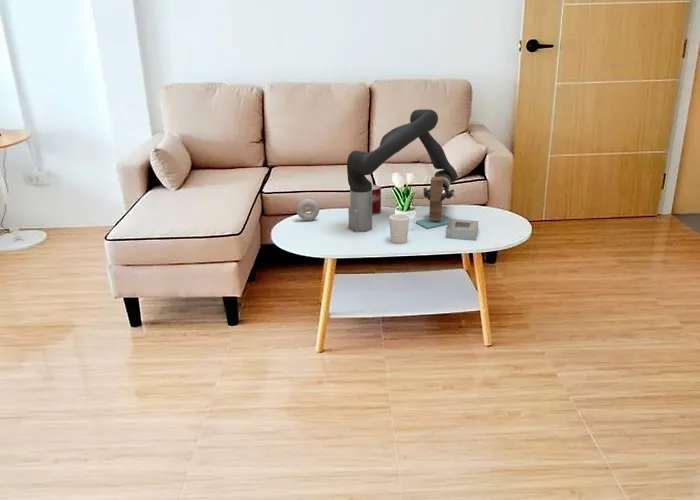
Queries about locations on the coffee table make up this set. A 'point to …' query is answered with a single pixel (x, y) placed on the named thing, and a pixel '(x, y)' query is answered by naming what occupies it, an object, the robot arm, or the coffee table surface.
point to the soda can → (376, 199)
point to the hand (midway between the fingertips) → (435, 198)
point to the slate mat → (433, 222)
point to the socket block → (462, 229)
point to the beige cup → (399, 227)
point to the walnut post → (436, 198)
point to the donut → (310, 203)
